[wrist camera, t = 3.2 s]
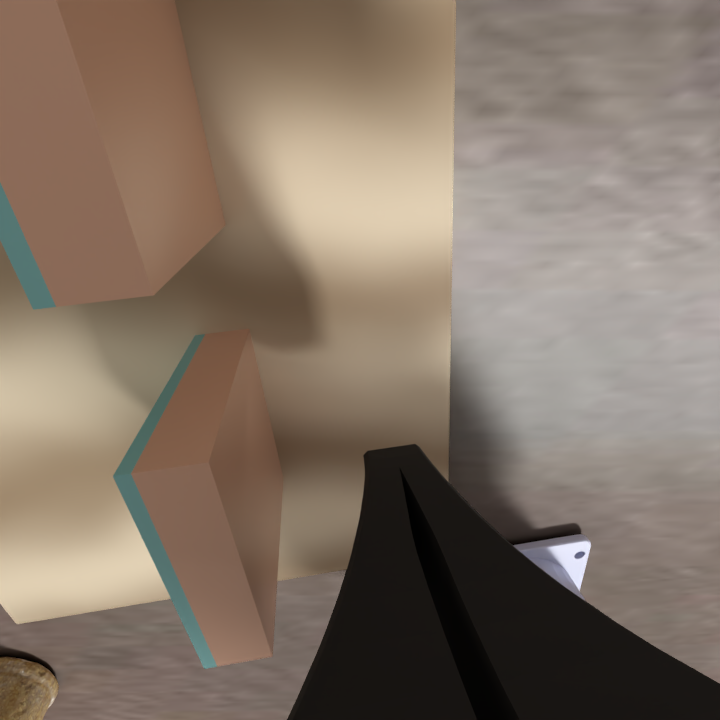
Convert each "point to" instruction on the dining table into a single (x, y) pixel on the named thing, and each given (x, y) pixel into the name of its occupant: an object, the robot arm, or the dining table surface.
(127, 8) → the tile
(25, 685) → the sprinkles bottle
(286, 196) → the board
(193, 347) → the tile
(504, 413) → the dining table surface
